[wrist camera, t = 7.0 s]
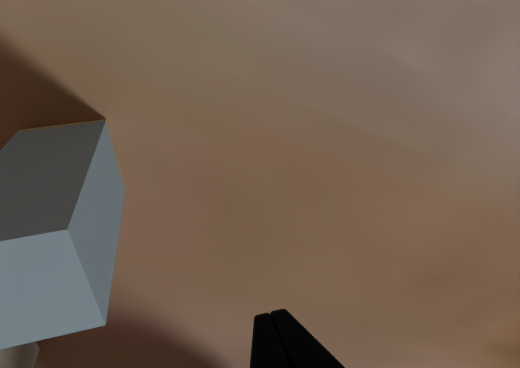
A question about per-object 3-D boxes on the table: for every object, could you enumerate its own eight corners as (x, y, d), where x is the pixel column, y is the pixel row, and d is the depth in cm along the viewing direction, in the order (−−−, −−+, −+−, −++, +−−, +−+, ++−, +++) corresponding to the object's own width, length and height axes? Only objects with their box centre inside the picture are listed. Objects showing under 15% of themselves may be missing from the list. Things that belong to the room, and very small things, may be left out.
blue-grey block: (125, 187, 20) (105, 325, 12) (47, 199, 19) (-29, 355, 11) (106, 118, 18) (67, 229, 10) (18, 129, 17) (-100, 259, 9)
